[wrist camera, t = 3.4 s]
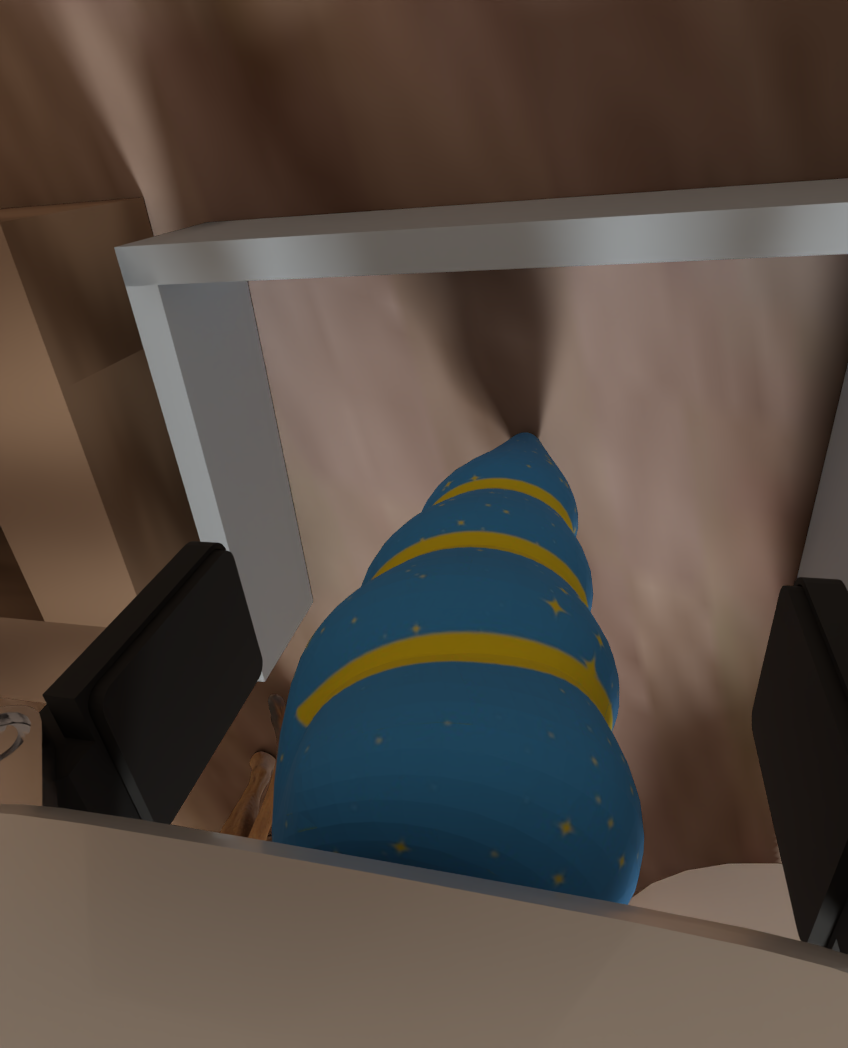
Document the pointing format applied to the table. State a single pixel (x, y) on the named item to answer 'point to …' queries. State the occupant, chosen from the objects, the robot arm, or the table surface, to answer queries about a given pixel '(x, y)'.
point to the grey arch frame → (404, 248)
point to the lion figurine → (258, 788)
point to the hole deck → (76, 440)
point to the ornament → (468, 698)
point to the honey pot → (727, 897)
